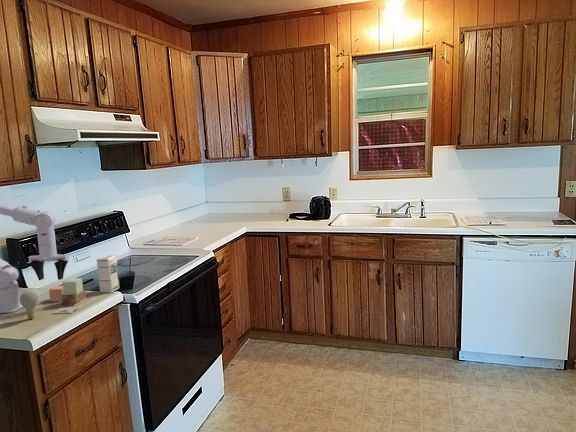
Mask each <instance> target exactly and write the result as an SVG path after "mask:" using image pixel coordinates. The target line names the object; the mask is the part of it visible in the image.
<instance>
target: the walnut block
mask: <svg viewBox="0 0 576 432" xmlns="http://www.w3.org/2000/svg"><path fill="white" fill-rule="evenodd" d="M61 297H62V301H61V304H77V303H79V302H80V301H82V300H84V299H85V298H86V299H87V293H86V290H83V291H82V292H80V293H78V294H75V295H64V294H63V295H61Z"/></svg>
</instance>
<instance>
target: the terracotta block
mask: <svg viewBox="0 0 576 432" xmlns="http://www.w3.org/2000/svg"><path fill="white" fill-rule="evenodd" d="M48 291H49V301H61V302H62V297H61V295H63V294H64V291H63V285H55V286H54V287H52V288H51V287H50V289H48Z"/></svg>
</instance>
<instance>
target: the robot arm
mask: <svg viewBox="0 0 576 432" xmlns="http://www.w3.org/2000/svg"><path fill="white" fill-rule="evenodd" d="M0 215H2V216H7V217H8V216H9V217H11V218H12V220H13V221H14V222H17V223H21V224H26V225H29V226H35V228H36V231H37V234H36V235H37V243H38V252H39V254H38V255H29V256H28V262H29V266H30V267H31V268H32V269H33V271H34V272H35V274H36V277H37V278H38V281H42V280H44V279H45V274H44V273H45V272H44V264H45V262H53V264H54V266H55V270H56V275H57V280H58V281H60V280H63V279H64V274H65V269H66V267H67V264H68V262H69V261H70V258H69V257H70V256H69V254H59V253H58V252H57V251H58V250H57V244H56V243H57V242H56V233H55V228H54V227H55V226H54V223H55V221H56V217H55V216H54V215H53V214H52V213H50V212H48V211H43V212H42V210H40V209H38V210H36V209H32V208H29V207H28V205H22V206H21V205H19V206H17V207H12V206H8V205H4V204H1V203H0ZM19 276H20V272H19V270H18V268H16V267H15V266H12V265H11V264H9V262H8V261H5V260H4V259H2V258H1V257H0V313H1V314H2V313H4V314H5V313H6V314H8V313H10V314H12V313H15V312H16V311H18V310H20V309H22V308H24V307H23V305H22V304H21V303H20V296H21V295H20V291H19V290H20V289H19V283H18V281H17V280H18V279H19Z"/></svg>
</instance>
